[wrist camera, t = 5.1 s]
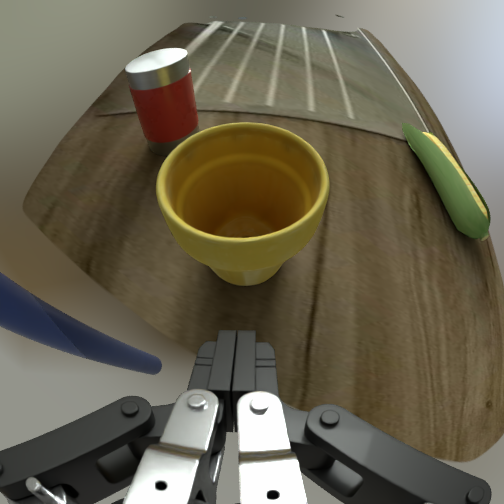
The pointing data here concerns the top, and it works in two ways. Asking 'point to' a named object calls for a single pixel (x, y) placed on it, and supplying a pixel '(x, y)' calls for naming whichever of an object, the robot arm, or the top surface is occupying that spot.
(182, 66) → the tin can
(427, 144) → the edible corn
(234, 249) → the flower pot
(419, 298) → the top surface
